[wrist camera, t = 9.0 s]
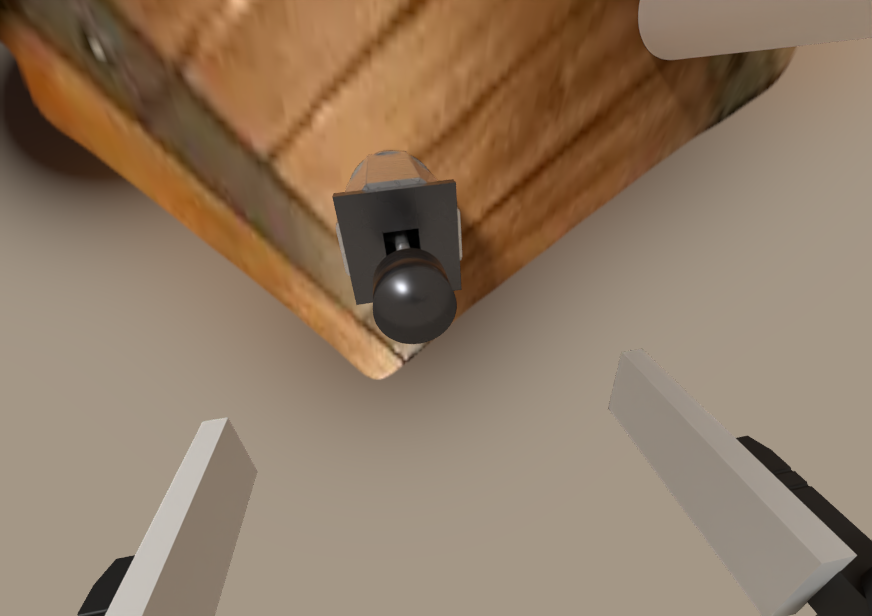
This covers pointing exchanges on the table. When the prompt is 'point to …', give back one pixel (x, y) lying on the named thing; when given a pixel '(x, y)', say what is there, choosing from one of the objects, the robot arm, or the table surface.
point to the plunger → (411, 293)
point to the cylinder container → (747, 25)
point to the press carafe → (396, 217)
